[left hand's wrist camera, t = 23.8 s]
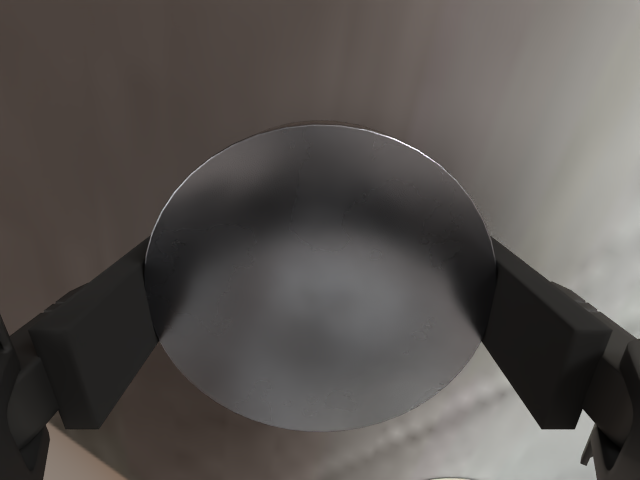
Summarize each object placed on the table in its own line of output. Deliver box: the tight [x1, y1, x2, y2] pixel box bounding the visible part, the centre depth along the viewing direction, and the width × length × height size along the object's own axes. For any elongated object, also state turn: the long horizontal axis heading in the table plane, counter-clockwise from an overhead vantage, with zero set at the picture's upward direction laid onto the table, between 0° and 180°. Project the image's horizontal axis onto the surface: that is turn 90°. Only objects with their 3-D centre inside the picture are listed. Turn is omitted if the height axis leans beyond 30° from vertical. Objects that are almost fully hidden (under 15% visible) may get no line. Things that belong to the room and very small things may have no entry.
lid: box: [144, 120, 497, 432], centre depth 11 cm, size 10×10×2 cm
